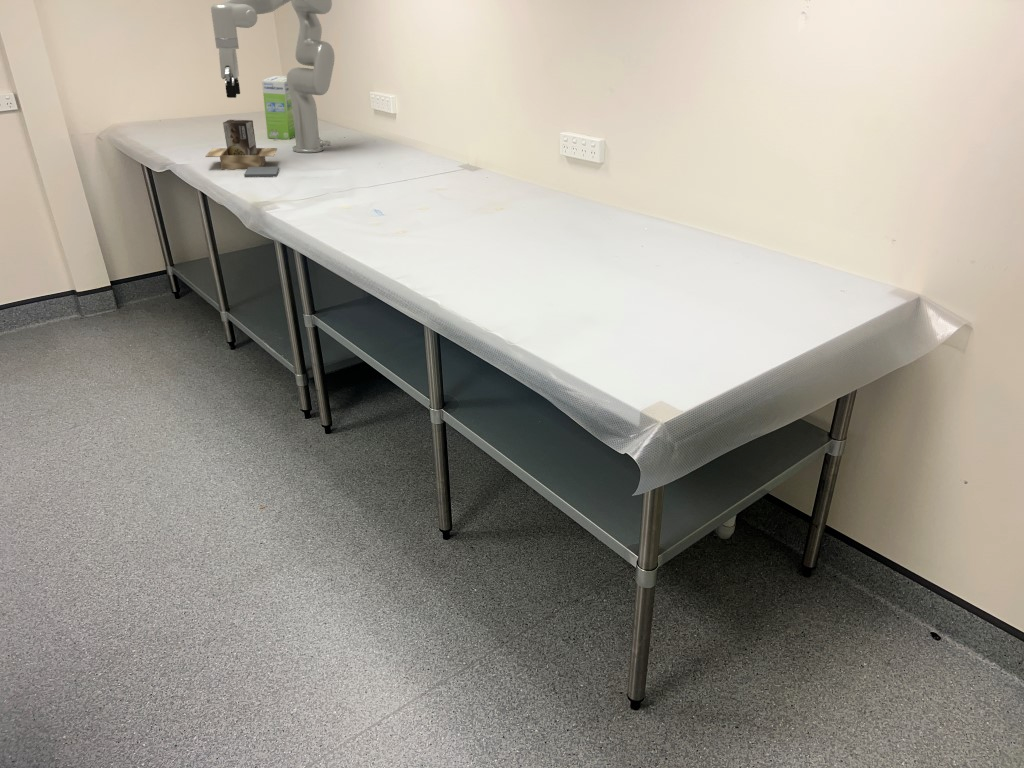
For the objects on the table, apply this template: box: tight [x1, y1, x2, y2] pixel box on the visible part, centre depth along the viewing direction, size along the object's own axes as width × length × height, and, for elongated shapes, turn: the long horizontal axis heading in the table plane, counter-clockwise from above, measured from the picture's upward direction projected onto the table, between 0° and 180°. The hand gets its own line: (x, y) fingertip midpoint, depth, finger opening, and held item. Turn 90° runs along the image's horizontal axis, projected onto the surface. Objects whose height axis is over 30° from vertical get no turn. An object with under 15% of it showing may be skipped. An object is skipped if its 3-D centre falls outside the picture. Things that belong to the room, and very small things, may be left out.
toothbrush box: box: [261, 75, 295, 140], centre depth 329 cm, size 18×10×24 cm, turn 178°
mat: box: [243, 166, 280, 178], centre depth 271 cm, size 11×12×1 cm
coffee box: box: [222, 119, 257, 156], centre depth 278 cm, size 9×6×16 cm
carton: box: [205, 147, 278, 170], centre depth 280 cm, size 24×14×5 cm, turn 100°
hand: (233, 95), depth 269 cm, fingers open, 9 cm apart
